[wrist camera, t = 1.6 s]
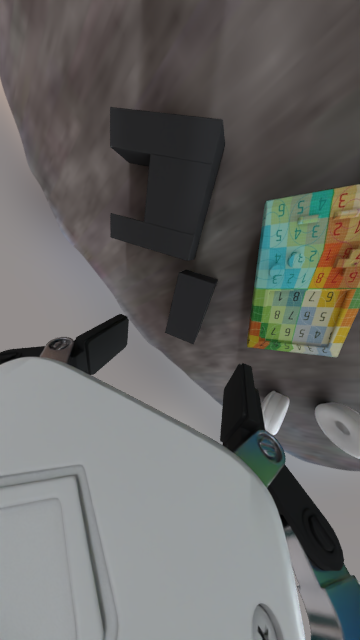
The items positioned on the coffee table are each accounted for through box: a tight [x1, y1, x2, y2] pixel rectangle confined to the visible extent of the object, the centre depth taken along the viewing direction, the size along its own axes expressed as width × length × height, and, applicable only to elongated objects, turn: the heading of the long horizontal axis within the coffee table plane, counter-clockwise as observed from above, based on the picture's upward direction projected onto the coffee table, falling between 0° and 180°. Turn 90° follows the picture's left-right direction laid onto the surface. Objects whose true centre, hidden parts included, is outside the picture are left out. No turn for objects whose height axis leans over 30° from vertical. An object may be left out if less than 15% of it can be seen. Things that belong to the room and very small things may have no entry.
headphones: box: [261, 391, 360, 584], centre depth 21 cm, size 7×18×20 cm, turn 96°
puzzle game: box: [247, 184, 360, 357], centre depth 20 cm, size 12×5×20 cm
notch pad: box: [110, 107, 225, 261], centre depth 21 cm, size 14×14×4 cm
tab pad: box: [165, 270, 218, 344], centre depth 27 cm, size 12×6×4 cm, turn 167°
